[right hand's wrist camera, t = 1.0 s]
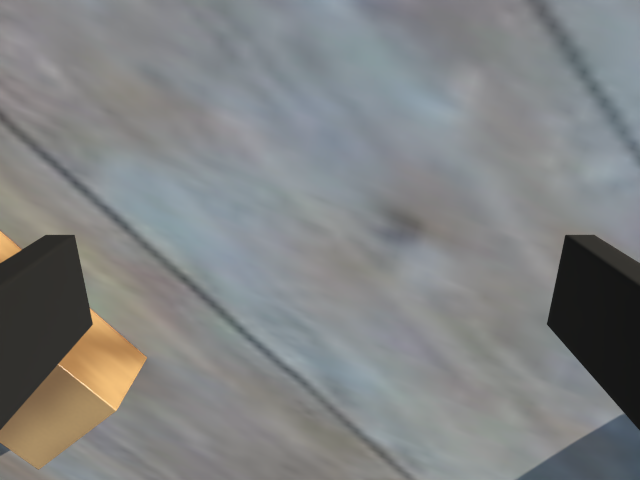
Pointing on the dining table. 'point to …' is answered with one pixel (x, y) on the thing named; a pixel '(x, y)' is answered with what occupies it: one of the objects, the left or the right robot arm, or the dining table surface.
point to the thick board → (72, 390)
